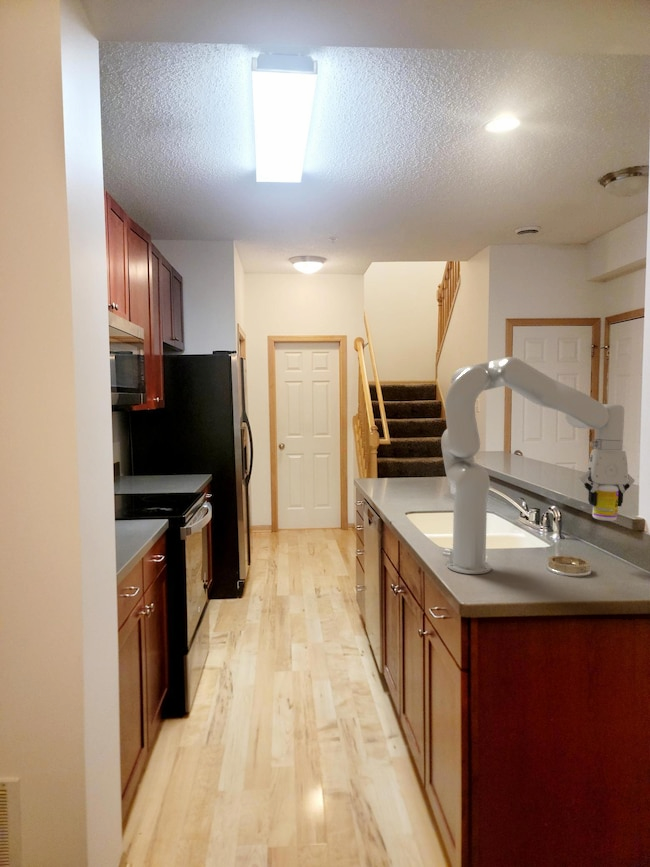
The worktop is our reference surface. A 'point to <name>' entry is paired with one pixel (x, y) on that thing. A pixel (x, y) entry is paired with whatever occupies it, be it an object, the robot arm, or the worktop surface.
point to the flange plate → (568, 566)
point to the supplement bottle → (606, 502)
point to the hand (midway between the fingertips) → (605, 504)
